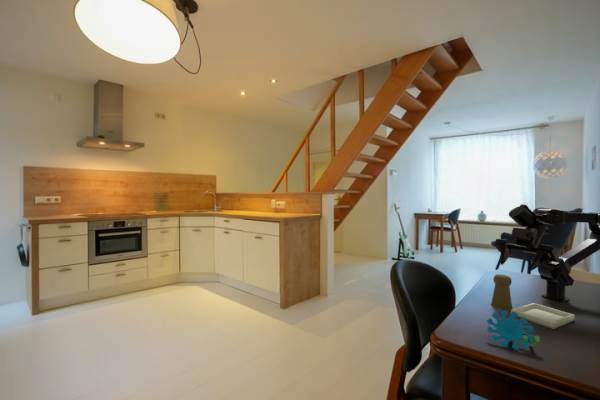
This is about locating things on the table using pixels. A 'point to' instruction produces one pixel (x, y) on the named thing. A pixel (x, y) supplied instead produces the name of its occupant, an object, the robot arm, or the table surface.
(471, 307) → the table surface
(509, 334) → the gear
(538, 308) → the tray
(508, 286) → the cork
